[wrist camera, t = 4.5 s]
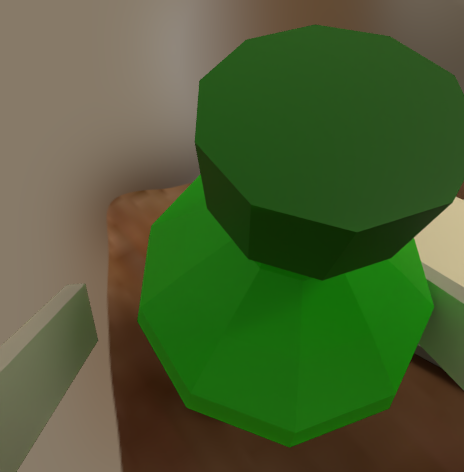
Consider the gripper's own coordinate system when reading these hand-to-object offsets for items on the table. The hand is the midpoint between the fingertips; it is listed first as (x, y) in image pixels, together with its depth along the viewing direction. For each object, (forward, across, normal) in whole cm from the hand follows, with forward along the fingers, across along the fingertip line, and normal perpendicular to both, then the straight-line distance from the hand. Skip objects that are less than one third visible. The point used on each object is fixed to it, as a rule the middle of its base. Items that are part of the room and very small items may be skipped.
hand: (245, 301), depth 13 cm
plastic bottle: (+11, +1, -11) cm, 16 cm away
